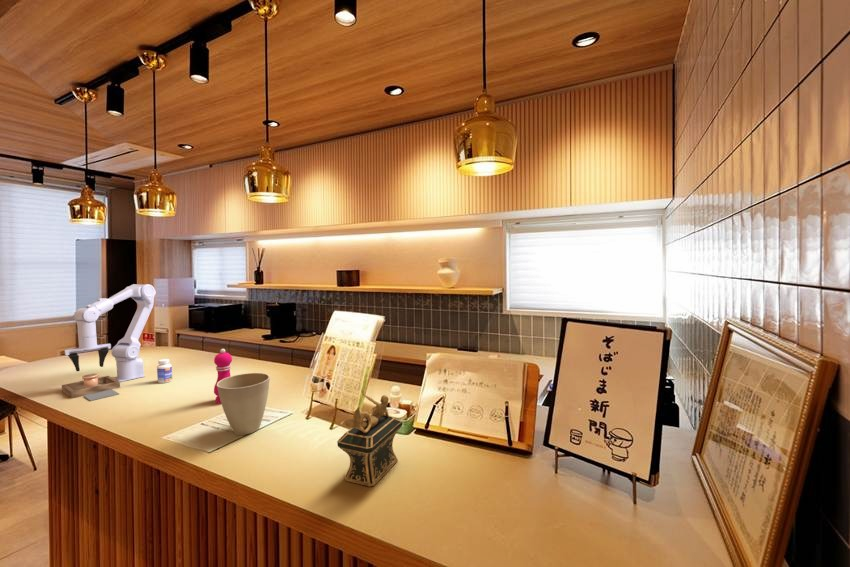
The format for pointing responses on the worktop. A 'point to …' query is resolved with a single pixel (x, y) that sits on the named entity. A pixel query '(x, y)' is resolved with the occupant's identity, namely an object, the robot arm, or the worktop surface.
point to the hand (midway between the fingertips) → (89, 368)
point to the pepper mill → (222, 369)
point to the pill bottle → (164, 371)
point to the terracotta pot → (90, 380)
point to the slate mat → (101, 395)
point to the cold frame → (73, 394)
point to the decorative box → (370, 443)
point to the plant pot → (244, 400)
